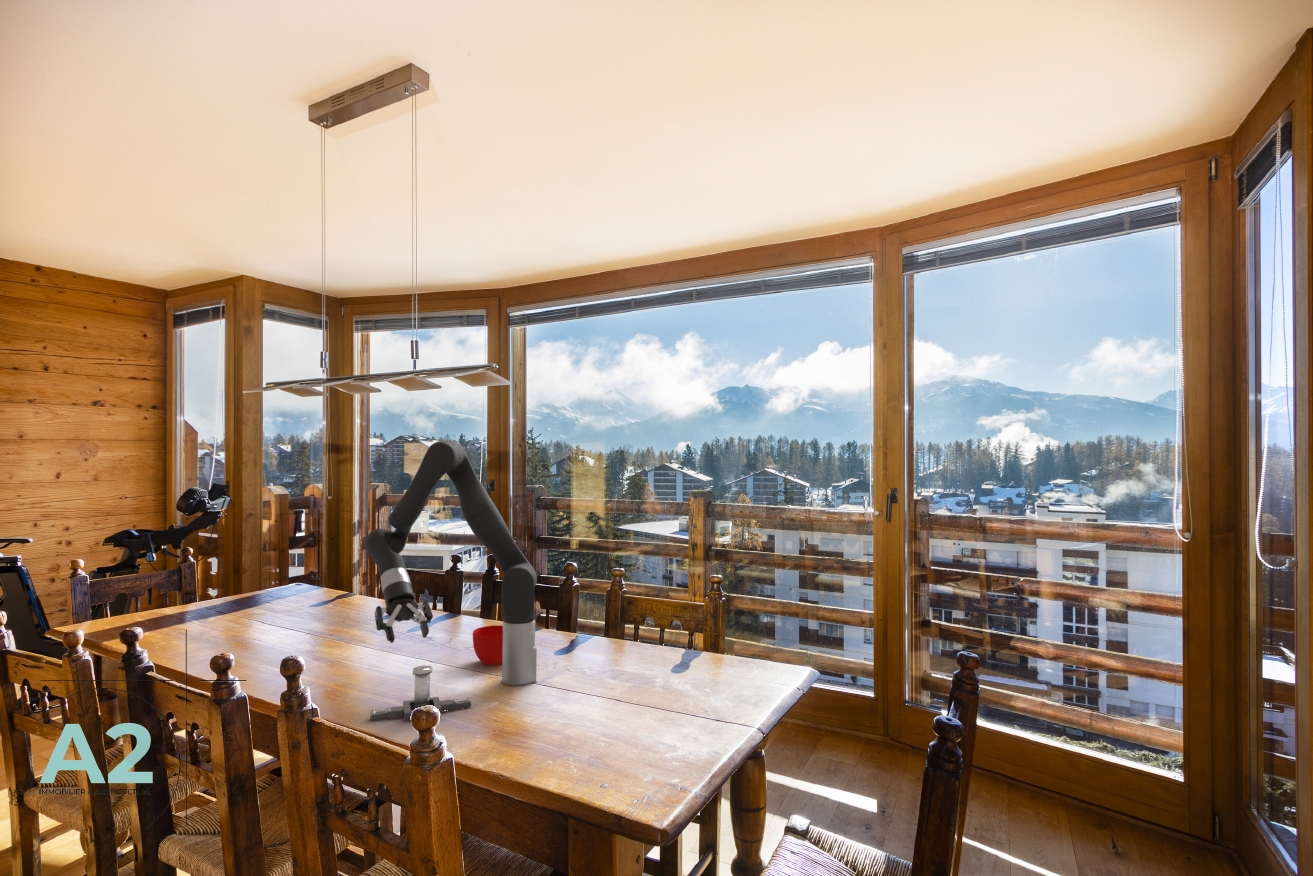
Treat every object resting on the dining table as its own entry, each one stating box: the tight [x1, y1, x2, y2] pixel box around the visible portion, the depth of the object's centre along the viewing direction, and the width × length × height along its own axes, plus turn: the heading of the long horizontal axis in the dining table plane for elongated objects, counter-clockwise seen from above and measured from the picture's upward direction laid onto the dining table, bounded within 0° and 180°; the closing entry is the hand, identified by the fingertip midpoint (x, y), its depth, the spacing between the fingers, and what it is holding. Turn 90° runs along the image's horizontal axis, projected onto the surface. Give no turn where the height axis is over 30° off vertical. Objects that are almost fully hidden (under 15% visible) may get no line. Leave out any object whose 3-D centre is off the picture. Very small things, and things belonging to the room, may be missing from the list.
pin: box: [412, 665, 433, 709], centre depth 162 cm, size 5×5×11 cm
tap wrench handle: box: [369, 696, 472, 723], centre depth 162 cm, size 24×9×2 cm, turn 113°
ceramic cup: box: [472, 624, 503, 666], centre depth 202 cm, size 13×17×10 cm
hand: (409, 638), depth 171 cm, fingers open, 8 cm apart
